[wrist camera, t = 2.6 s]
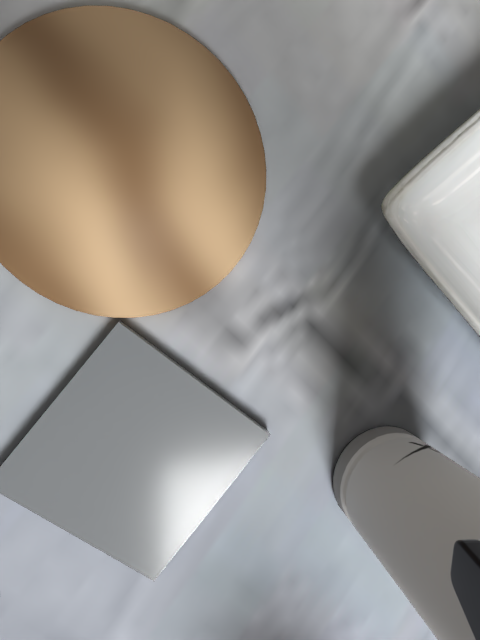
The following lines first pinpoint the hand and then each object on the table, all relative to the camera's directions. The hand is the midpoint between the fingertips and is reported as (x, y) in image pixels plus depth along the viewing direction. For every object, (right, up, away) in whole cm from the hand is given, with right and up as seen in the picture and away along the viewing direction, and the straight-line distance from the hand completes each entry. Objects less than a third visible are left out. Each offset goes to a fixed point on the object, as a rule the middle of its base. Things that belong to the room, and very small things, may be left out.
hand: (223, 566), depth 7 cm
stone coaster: (-5, -2, +12) cm, 13 cm away
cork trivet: (-5, +12, +11) cm, 17 cm away
